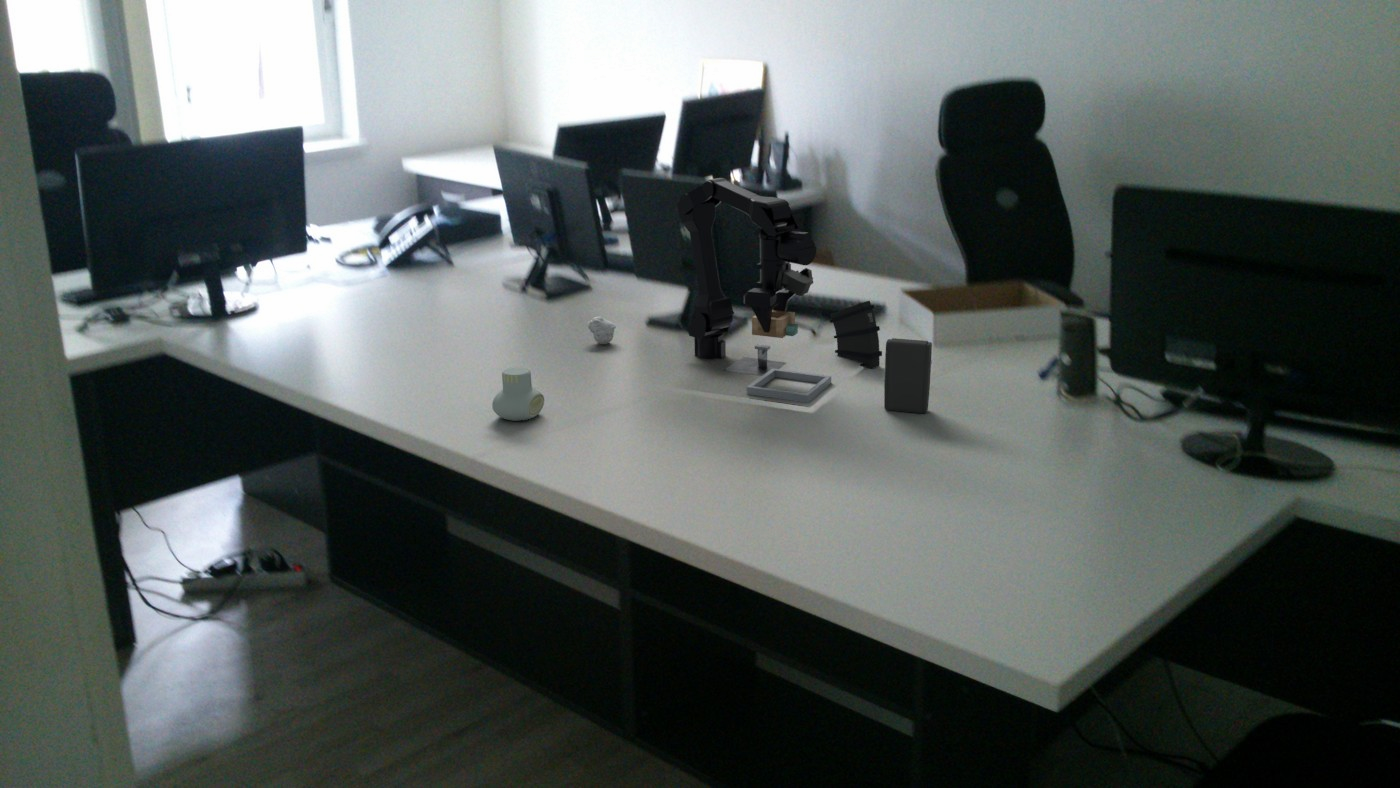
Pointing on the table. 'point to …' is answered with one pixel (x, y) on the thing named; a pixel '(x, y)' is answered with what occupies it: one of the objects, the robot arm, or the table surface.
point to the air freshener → (517, 396)
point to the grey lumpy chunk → (601, 329)
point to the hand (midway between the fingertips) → (773, 327)
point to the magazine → (857, 334)
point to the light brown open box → (777, 325)
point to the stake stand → (755, 363)
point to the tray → (795, 396)
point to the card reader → (907, 375)
